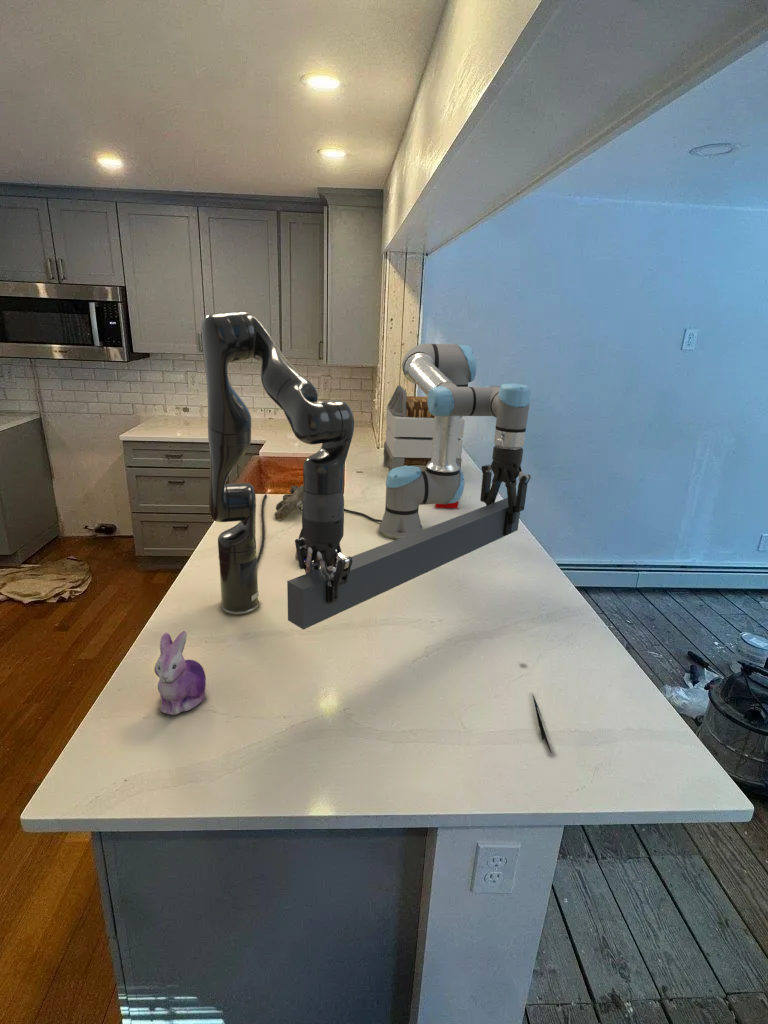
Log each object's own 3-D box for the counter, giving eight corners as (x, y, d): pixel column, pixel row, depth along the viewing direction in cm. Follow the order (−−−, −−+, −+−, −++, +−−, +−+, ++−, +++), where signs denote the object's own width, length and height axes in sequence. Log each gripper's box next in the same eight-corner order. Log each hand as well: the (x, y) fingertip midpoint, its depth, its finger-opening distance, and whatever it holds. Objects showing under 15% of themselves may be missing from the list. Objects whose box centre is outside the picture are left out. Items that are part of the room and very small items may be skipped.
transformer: (382, 463, 289) (386, 382, 275) (445, 464, 293) (451, 384, 279) (390, 482, 257) (394, 392, 243) (460, 483, 261) (468, 394, 247)
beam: (503, 525, 158) (506, 497, 155) (517, 530, 155) (521, 502, 153) (287, 620, 106) (287, 580, 103) (303, 629, 103) (303, 589, 100)
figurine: (161, 723, 106) (153, 655, 100) (154, 691, 114) (147, 626, 109) (213, 709, 110) (208, 643, 105) (202, 680, 118) (198, 616, 113)
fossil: (279, 491, 226) (308, 470, 221) (295, 509, 228) (323, 489, 223) (264, 515, 206) (294, 493, 201) (281, 534, 209) (312, 514, 204)
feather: (523, 669, 129) (529, 663, 128) (551, 758, 102) (558, 750, 101) (517, 665, 128) (523, 659, 128) (543, 753, 102) (550, 746, 101)
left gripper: (281, 506, 104) (283, 590, 110) (333, 529, 95) (332, 618, 101) (313, 498, 109) (313, 578, 115) (365, 518, 100) (362, 604, 106)
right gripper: (471, 441, 147) (463, 525, 155) (531, 455, 136) (519, 544, 144) (488, 438, 152) (479, 519, 160) (547, 451, 141) (534, 537, 149)
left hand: (322, 596), depth 108 cm, fingers closed on beam, 4 cm apart
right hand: (498, 531), depth 152 cm, fingers closed on beam, 5 cm apart
